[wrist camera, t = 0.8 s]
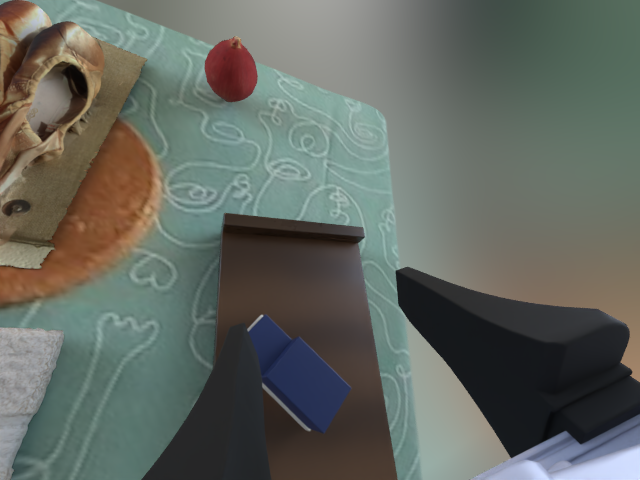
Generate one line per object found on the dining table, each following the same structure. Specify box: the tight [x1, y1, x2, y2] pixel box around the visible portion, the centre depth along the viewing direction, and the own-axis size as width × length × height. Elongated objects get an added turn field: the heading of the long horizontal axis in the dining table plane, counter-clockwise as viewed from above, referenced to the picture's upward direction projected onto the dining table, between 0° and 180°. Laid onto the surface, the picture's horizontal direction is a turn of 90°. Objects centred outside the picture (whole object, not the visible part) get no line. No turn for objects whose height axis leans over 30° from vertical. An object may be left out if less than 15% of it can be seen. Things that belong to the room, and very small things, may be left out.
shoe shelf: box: [213, 213, 398, 480], centre depth 25 cm, size 22×14×4 cm, turn 7°
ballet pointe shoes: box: [0, 0, 147, 269], centre depth 24 cm, size 14×7×28 cm
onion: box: [205, 36, 258, 102], centre depth 33 cm, size 6×6×8 cm
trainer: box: [247, 314, 351, 434], centre depth 21 cm, size 8×4×4 cm, turn 52°
